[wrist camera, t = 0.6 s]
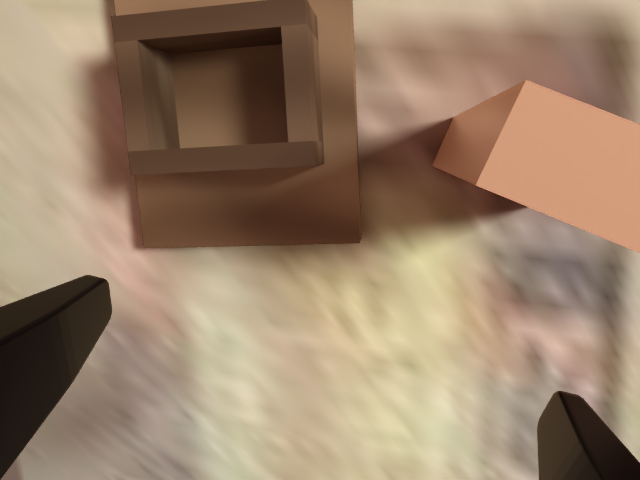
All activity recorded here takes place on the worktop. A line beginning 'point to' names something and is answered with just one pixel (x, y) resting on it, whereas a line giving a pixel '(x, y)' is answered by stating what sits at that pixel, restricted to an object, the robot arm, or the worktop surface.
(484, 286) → the worktop surface
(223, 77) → the square socket base
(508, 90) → the clay rectangular block
